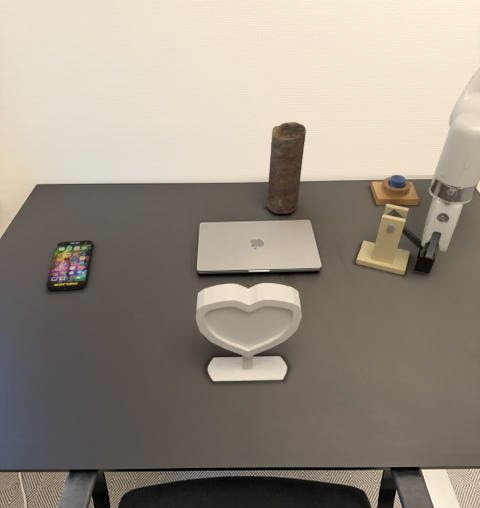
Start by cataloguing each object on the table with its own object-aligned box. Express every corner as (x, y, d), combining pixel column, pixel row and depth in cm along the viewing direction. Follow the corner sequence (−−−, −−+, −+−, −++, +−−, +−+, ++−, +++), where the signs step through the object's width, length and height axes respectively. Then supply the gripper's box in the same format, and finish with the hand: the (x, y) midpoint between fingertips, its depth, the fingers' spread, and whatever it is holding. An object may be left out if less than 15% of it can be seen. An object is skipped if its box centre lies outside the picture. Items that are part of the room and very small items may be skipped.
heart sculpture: (201, 381, 78) (193, 304, 65) (202, 357, 82) (195, 280, 69) (294, 379, 78) (305, 302, 65) (291, 356, 82) (300, 278, 69)
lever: (428, 256, 97) (441, 248, 95) (426, 266, 95) (439, 257, 93) (383, 216, 95) (396, 206, 92) (381, 224, 93) (393, 215, 90)
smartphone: (93, 239, 103) (85, 285, 93) (94, 243, 104) (86, 289, 94) (57, 242, 103) (44, 288, 92) (58, 245, 103) (46, 291, 93)
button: (402, 181, 116) (403, 174, 115) (405, 189, 114) (407, 182, 112) (387, 181, 116) (389, 174, 115) (390, 188, 114) (392, 182, 112)
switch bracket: (408, 255, 101) (424, 208, 92) (403, 275, 97) (419, 227, 88) (362, 244, 104) (373, 198, 95) (355, 263, 99) (366, 216, 91)
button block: (409, 187, 120) (413, 175, 117) (417, 205, 114) (421, 192, 112) (370, 187, 120) (373, 175, 117) (376, 205, 114) (379, 192, 112)
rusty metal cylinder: (302, 214, 112) (311, 132, 97) (274, 220, 110) (279, 138, 95) (289, 198, 116) (296, 117, 102) (261, 203, 115) (265, 122, 100)
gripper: (471, 214, 78) (436, 295, 91) (477, 170, 88) (445, 248, 102) (425, 204, 80) (397, 285, 93) (436, 161, 90) (410, 239, 104)
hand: (422, 265), depth 97 cm, fingers closed on lever, 3 cm apart
